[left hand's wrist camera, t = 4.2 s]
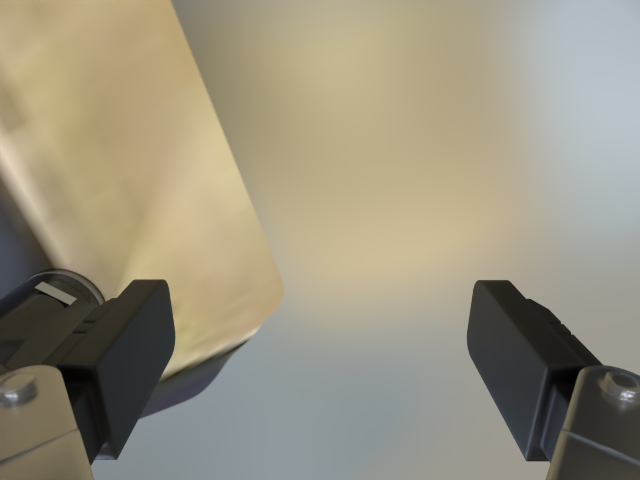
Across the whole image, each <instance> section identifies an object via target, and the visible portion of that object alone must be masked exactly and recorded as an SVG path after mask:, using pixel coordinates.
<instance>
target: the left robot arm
mask: <svg viewBox="0 0 640 480" xmlns="http://www.w3.org/2000/svg"><path fill="white" fill-rule="evenodd" d="M467 345H468V350H469V354H470V356H471V358H472V360H473V362H474V364H475V366H476V368H477V370H478V372H479V374H480V375H481V377H482V379H483V381H484V383H485V385H486V387H487V388H488V390H489V392H490V394H491V396H492V398H493V400H494V402H495V403H496V405H497V407H498V409H499V411H500V413H501V415H502V416H503V418H504V420H505V422H506V424H507V426H508V428H509V430H510V431H511V433H512V435H513V437H514V439H515V441H516V443H517V445H518V446H519V448H520V450H521V452H522V454H523V456H524V458H525V460H526V461H549V462H550V467H549V470H548V474H547V477H546V480H640V376H639V375H637V374H635V373H632V372H630V371H627V370H624V369H620V368H616V367H612V366H605V365H603V364H602V363H601V362H600V361H599V360H598V359H597V358H596V357H595V356H594V355H593V354H592V353H591V352H590V351H589V350H588V349H587V348H586V347H585V346H584V345H583V344H582V343H581V342H580V341H579V340H578V339H577V338H576V337H575V336H574V335H571V332H570V331H569V330H568V329H567V328H566V327H565V326H564V324H561V321H560V320H559V319H558V318H557V317H556V316H555V315H554V314H553V313H552V312H551V311H550V310H549V309H547V308H545V307H544V306H542V305H540V304H538V303H537V302H535V301H533V300H531V299H526V298H525V297H524V296H523V295H522V294H521V293H520V292H519V291H518V290H517V289H516V288H515V286H514V285H513V284H512V283H511V282H510V281H508V280H478V281H477V282H476V283H475V285H474V289H473V296H472V302H471V309H470V316H469V323H468V330H467ZM174 346H175V328H174V321H173V314H172V307H171V300H170V293H169V287H168V284H167V282H166V281H165V280H133V281H132V282H131V283H130V284H129V285H128V286H127V288H126V289H125V290H124V291H123V292H122V293H121V294H120V295H119V296H118V297H117V298H112V299H110V300H108V301H107V302H105V303H104V300H103V298H102V296H101V294H100V293H99V291H98V290H97V289H96V288H95V287H94V286H93V285H92V284H91V283H90V282H89V281H88V280H86V279H85V278H83V277H82V276H80V275H78V274H75V273H73V272H70V271H66V270H59V269H51V270H45V271H41V272H39V273H37V274H35V275H33V276H32V277H30V278H29V279H28V280H26V281H25V282H24V283H23V284H22V285H21V286H19V287H18V288H17V289H15V290H14V291H12V292H11V293H9V294H8V295H6V296H5V297H3V298H2V299H1V300H0V480H94V477H93V474H92V470H91V467H90V466H91V465H92V463H93V461H94V460H117V458H118V457H119V455H120V453H121V451H122V449H123V447H124V445H125V443H126V442H127V440H128V438H129V436H130V434H131V432H132V430H133V428H134V426H135V424H136V423H137V421H138V419H139V417H140V415H141V413H142V411H143V409H144V407H145V406H146V404H147V402H148V400H149V398H150V396H151V394H152V392H153V390H154V389H155V387H156V385H157V383H158V381H159V379H160V377H161V375H162V373H163V371H164V370H165V368H166V366H167V364H168V362H169V360H170V358H171V356H172V354H173V351H174Z"/></svg>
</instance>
